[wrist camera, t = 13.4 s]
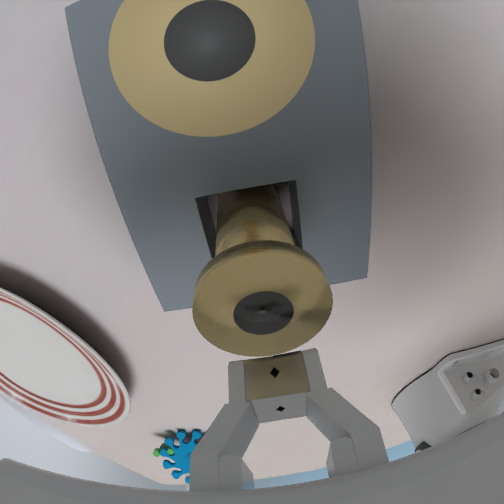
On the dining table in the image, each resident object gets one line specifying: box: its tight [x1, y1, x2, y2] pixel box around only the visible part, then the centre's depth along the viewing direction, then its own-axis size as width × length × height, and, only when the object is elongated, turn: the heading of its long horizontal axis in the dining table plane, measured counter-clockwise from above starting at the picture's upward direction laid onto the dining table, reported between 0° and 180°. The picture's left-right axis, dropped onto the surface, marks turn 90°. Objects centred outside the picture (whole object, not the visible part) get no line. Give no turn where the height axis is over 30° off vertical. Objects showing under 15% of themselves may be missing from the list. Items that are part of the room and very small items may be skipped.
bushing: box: [192, 184, 333, 356], centre depth 16 cm, size 6×6×10 cm
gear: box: [153, 430, 201, 484], centre depth 41 cm, size 11×6×10 cm
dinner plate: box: [0, 288, 131, 427], centre depth 28 cm, size 28×27×3 cm
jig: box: [65, 0, 372, 312], centre depth 14 cm, size 20×14×10 cm
